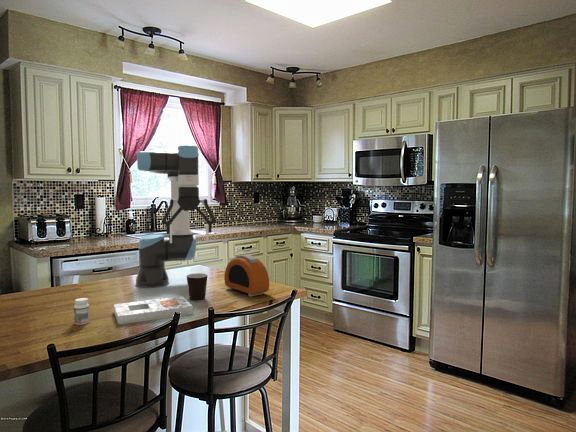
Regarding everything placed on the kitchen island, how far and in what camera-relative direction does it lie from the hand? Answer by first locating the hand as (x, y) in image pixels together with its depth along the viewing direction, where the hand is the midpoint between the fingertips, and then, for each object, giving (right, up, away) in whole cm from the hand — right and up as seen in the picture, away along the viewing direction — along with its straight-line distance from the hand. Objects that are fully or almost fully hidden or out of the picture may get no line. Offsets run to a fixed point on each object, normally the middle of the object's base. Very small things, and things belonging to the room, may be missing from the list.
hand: (189, 242), depth 162 cm
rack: (-13, -27, -3) cm, 30 cm away
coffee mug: (0, -25, +18) cm, 31 cm away
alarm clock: (+19, -24, +29) cm, 42 cm away
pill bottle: (-34, -28, -14) cm, 46 cm away
